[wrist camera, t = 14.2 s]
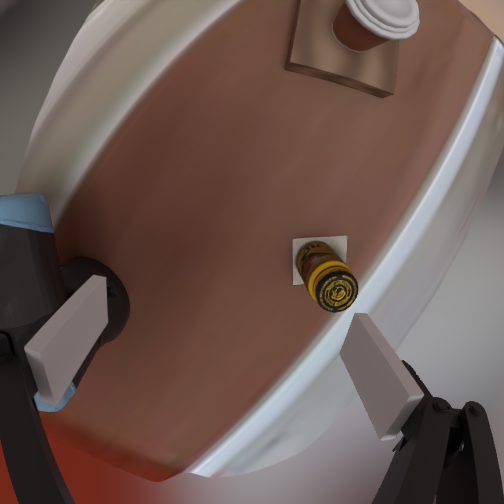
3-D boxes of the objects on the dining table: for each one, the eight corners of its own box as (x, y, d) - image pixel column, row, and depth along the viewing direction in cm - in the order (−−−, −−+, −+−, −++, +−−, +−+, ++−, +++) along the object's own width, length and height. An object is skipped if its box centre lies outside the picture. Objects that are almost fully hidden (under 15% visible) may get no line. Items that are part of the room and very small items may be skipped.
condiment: (292, 238, 44) (311, 268, 32) (346, 235, 44) (381, 262, 33) (292, 284, 46) (310, 325, 35) (344, 279, 46) (374, 316, 35)
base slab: (285, 69, 36) (290, 61, 32) (299, -10, 31) (305, -22, 28) (381, 98, 37) (394, 94, 34) (389, 20, 33) (400, 12, 29)
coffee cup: (386, 22, 30) (429, -8, 19) (377, 71, 33) (424, 48, 21) (327, -2, 29) (356, -44, 17) (315, 46, 31) (345, 10, 20)
